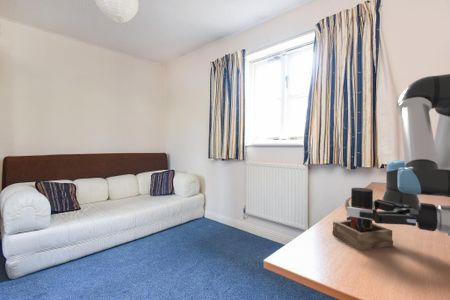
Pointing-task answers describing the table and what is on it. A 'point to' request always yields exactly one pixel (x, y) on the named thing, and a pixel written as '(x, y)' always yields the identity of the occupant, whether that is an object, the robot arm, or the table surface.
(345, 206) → the watch
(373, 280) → the table surface
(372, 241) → the crate
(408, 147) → the robot arm
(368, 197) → the deodorant
